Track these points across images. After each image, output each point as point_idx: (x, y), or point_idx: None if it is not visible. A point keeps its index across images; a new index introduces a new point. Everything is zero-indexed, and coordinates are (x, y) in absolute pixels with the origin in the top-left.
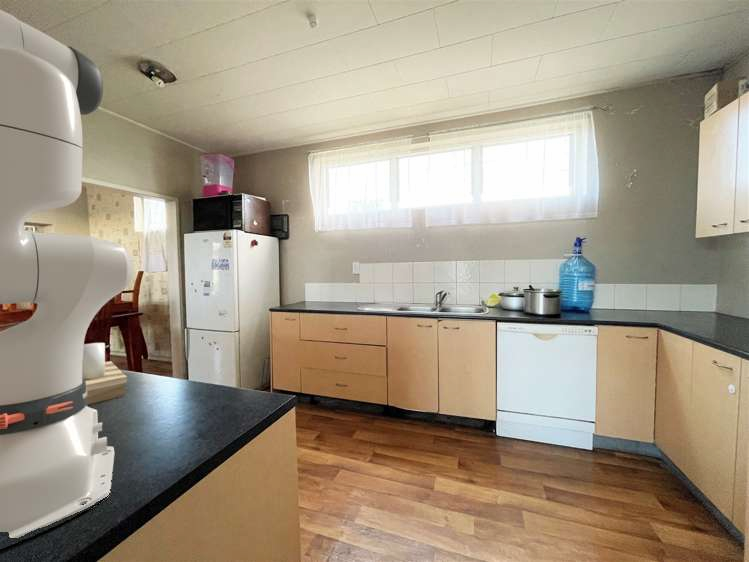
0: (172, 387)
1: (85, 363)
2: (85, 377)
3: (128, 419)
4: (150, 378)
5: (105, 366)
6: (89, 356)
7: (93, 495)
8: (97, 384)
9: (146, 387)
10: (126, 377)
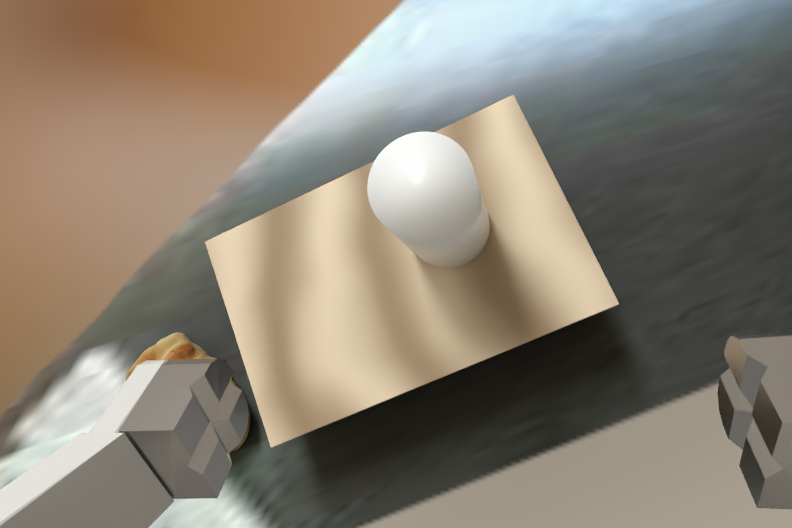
0: (491, 2)
1: (482, 218)
2: (488, 234)
3: (776, 51)
4: (335, 107)
5: (293, 233)
6: (480, 193)
7: None
8: (554, 179)
9: (446, 90)
10: (513, 97)
